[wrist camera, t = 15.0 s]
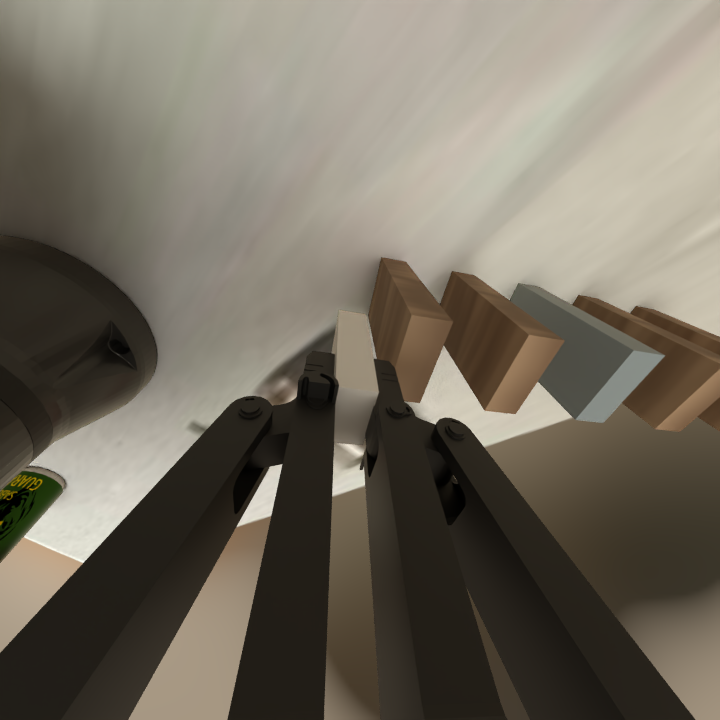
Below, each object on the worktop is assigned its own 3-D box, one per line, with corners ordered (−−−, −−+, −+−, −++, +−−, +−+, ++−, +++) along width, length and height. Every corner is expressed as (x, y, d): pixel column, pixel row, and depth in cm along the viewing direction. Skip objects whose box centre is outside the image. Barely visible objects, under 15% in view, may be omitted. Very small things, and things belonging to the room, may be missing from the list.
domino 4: (547, 343, 27) (654, 429, 18) (578, 295, 24) (723, 365, 15) (565, 346, 27) (679, 431, 18) (598, 298, 25) (751, 369, 15)
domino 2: (431, 325, 25) (484, 410, 16) (452, 271, 23) (529, 334, 13) (452, 329, 25) (515, 414, 16) (474, 275, 23) (565, 340, 14)
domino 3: (492, 334, 26) (575, 419, 17) (518, 283, 23) (633, 350, 14) (511, 337, 26) (602, 422, 17) (539, 287, 24) (665, 355, 15)
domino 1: (368, 315, 24) (384, 398, 15) (381, 257, 22) (411, 314, 12) (390, 319, 25) (419, 402, 15) (405, 262, 22) (453, 321, 13)
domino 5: (600, 352, 28) (728, 437, 19) (636, 306, 25) (804, 378, 16) (617, 354, 28) (750, 439, 19) (653, 309, 26) (829, 382, 16)
